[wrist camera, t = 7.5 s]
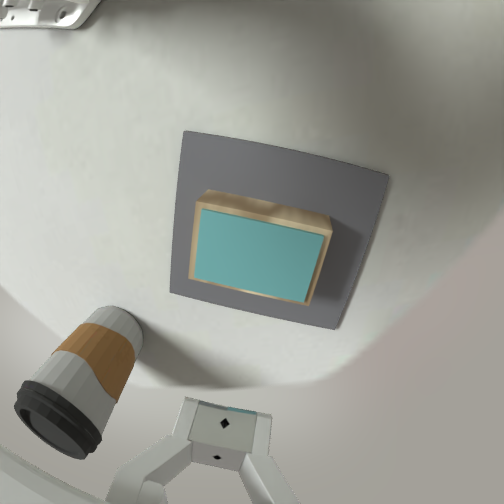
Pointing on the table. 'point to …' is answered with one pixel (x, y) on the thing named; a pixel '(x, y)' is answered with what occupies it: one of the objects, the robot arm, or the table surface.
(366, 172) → the mat
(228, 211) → the plaque
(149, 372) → the table surface
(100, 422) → the coffee cup
